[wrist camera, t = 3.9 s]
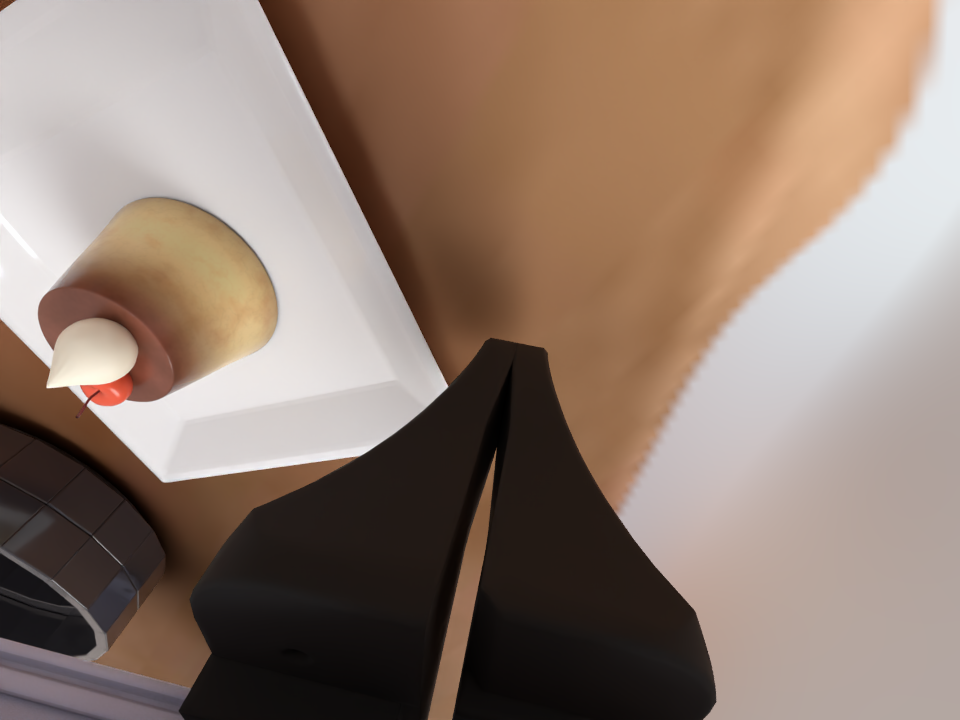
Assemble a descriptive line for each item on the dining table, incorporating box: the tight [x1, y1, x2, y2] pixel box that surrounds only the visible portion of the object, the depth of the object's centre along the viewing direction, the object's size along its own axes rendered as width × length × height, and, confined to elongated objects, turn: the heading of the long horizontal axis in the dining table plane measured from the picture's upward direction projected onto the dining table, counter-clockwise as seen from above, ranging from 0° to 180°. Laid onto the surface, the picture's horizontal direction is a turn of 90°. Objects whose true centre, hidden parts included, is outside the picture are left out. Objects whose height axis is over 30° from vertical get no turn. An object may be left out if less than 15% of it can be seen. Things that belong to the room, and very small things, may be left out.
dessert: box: [0, 0, 448, 482], centre depth 12 cm, size 12×12×5 cm
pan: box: [0, 423, 166, 661], centre depth 21 cm, size 12×12×4 cm
